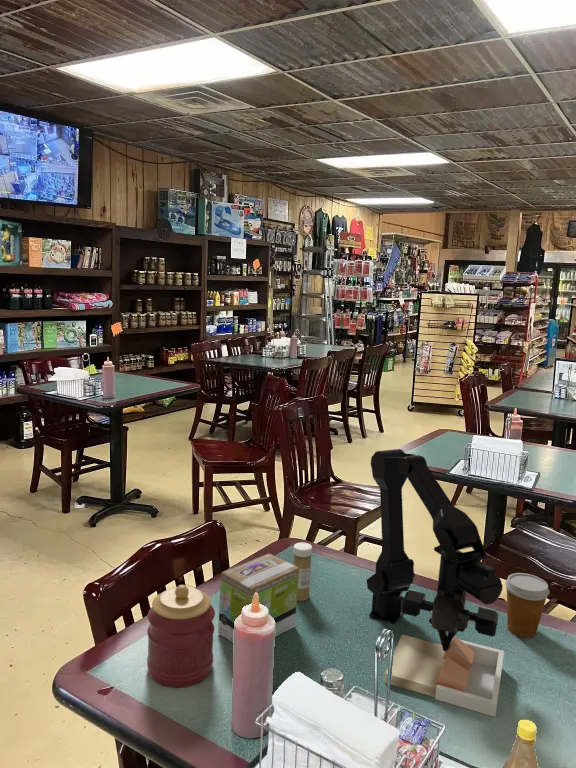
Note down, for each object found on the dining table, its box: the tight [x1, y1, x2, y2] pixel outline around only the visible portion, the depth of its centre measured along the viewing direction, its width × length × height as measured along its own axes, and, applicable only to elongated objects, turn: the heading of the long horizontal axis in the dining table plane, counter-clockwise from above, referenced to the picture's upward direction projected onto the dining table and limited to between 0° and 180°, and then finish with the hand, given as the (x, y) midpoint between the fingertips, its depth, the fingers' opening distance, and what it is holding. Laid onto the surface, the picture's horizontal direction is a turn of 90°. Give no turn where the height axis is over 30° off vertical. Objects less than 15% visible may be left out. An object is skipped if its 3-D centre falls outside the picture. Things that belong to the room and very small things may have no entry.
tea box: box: [217, 553, 299, 644], centre depth 139 cm, size 15×10×15 cm, turn 138°
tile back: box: [443, 635, 475, 670], centre depth 130 cm, size 5×5×3 cm
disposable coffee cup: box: [504, 572, 551, 639], centre depth 144 cm, size 10×10×12 cm
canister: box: [146, 584, 216, 688], centre depth 124 cm, size 13×13×18 cm
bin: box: [434, 638, 505, 718], centre depth 125 cm, size 11×16×4 cm
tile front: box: [435, 657, 470, 691], centre depth 123 cm, size 5×5×3 cm
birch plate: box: [384, 634, 445, 698], centre depth 129 cm, size 10×15×2 cm, turn 157°
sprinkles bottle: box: [292, 542, 313, 602], centre depth 154 cm, size 5×5×13 cm
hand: (445, 650), depth 131 cm, fingers closed
